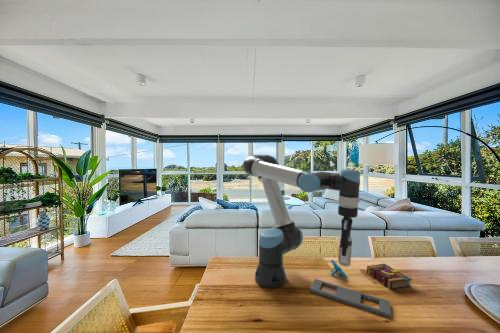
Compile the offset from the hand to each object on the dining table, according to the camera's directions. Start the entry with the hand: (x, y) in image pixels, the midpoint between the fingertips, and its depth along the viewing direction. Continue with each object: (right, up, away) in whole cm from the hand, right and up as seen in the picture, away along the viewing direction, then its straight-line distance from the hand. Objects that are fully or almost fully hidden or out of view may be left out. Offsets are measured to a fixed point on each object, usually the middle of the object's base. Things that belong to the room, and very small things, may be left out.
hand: (344, 259), depth 91 cm
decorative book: (+27, -16, +14) cm, 34 cm away
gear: (+4, -16, +17) cm, 24 cm away
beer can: (0, -2, 0) cm, 2 cm away
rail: (+1, -16, -1) cm, 16 cm away
